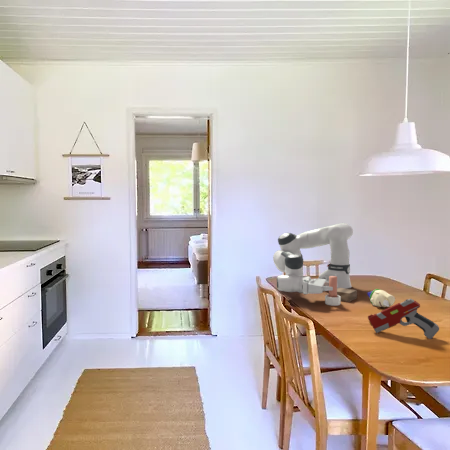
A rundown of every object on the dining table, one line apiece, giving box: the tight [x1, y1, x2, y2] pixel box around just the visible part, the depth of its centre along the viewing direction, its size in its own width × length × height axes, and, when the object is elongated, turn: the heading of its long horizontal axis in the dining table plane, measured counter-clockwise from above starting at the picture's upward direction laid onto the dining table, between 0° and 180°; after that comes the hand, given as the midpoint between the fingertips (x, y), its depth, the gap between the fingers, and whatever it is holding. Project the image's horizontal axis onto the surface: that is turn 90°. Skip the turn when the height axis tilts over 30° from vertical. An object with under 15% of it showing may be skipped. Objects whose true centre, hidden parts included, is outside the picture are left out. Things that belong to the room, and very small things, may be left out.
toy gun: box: [367, 298, 440, 340], centre depth 167 cm, size 4×22×18 cm
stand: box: [337, 288, 358, 303], centre depth 224 cm, size 10×10×5 cm
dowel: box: [328, 276, 337, 297], centre depth 213 cm, size 4×4×14 cm
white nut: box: [324, 293, 342, 307], centre depth 214 cm, size 7×7×5 cm
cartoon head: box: [366, 288, 396, 308], centre depth 211 cm, size 9×10×20 cm
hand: (333, 286), depth 213 cm, fingers open, 8 cm apart
